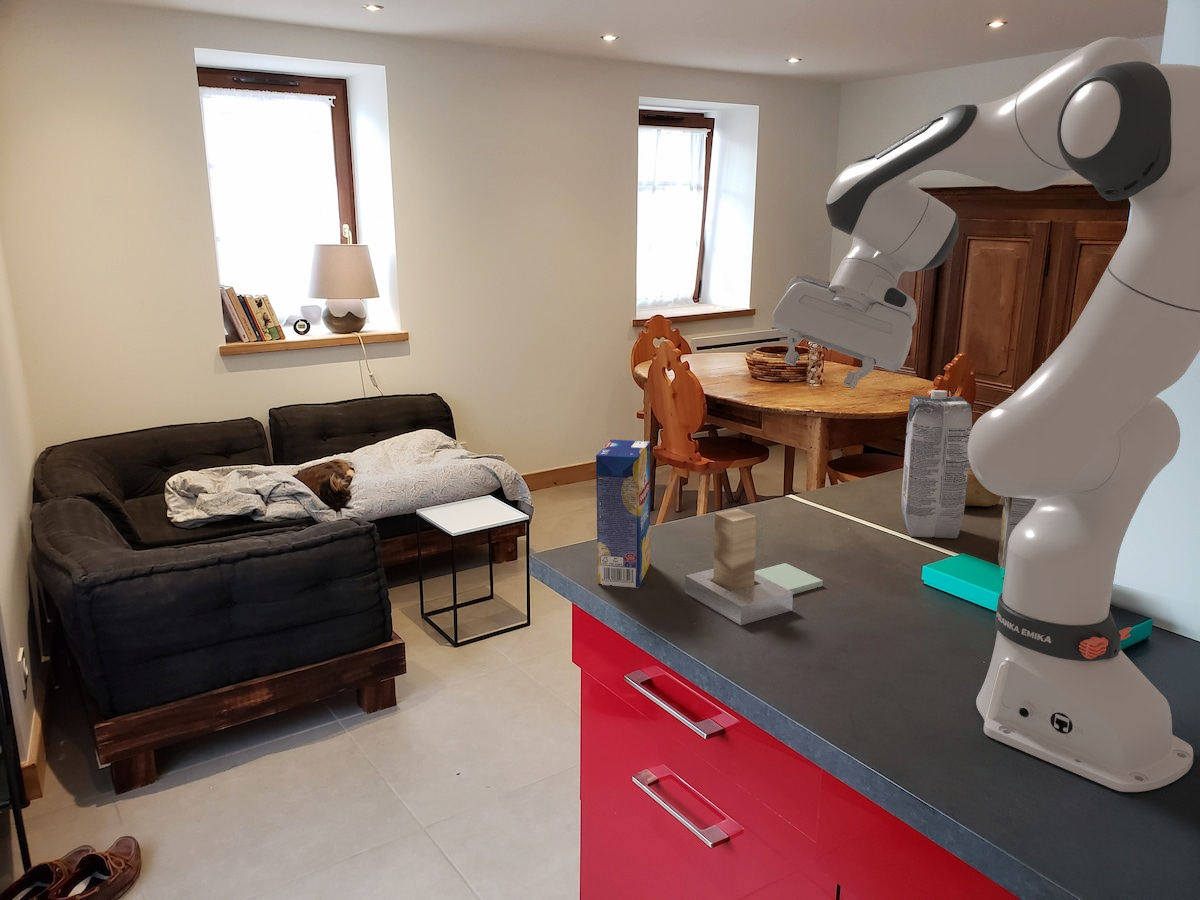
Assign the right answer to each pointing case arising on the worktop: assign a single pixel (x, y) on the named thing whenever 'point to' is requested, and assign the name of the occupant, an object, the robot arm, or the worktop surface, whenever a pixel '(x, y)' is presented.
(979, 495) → the bread roll
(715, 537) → the oak peg
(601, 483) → the beverage box
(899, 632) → the worktop surface
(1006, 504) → the coffee box
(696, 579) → the grey square socket plate
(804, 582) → the pad
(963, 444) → the juice carton
